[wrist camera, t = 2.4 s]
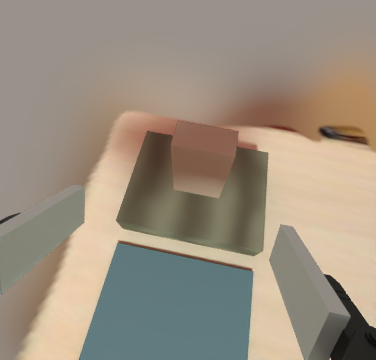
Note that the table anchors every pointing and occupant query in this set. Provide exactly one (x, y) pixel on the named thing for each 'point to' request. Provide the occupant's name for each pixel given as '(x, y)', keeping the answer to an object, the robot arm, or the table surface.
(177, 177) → the salmon pink brick
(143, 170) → the brown flat block
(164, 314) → the mat
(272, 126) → the table surface
